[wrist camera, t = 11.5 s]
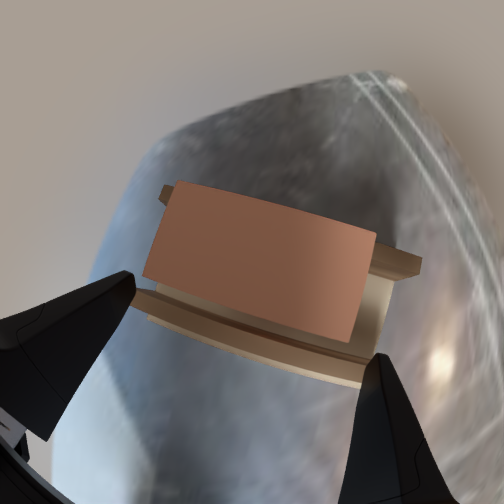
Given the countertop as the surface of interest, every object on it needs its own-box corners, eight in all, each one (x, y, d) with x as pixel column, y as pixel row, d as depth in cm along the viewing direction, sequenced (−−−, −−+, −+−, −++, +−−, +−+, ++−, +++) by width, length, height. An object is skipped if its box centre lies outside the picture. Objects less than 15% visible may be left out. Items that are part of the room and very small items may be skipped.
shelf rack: (358, 385, 17) (379, 407, 13) (152, 318, 20) (117, 320, 15) (395, 254, 19) (425, 238, 14) (194, 196, 22) (171, 167, 17)
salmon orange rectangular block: (307, 320, 18) (348, 343, 6) (228, 296, 19) (141, 275, 7) (319, 279, 18) (376, 233, 7) (240, 256, 19) (177, 180, 7)
